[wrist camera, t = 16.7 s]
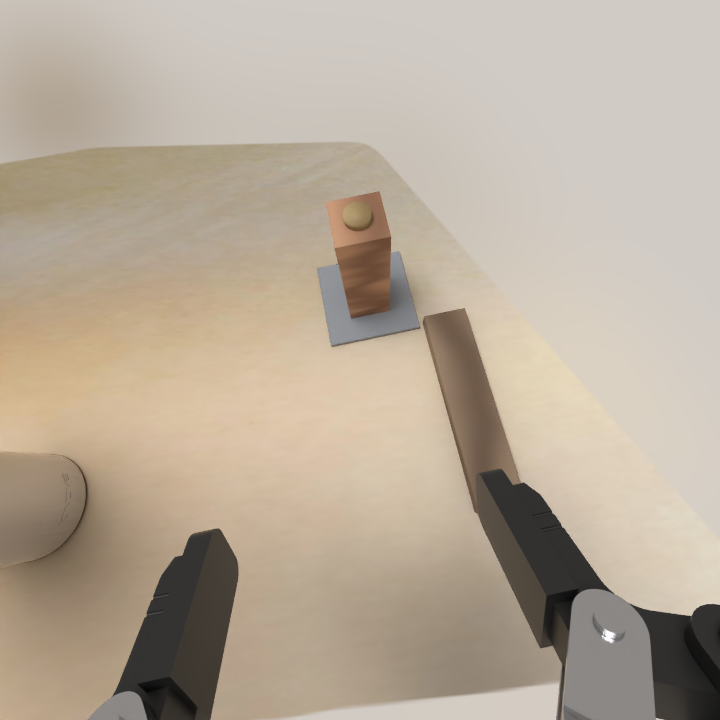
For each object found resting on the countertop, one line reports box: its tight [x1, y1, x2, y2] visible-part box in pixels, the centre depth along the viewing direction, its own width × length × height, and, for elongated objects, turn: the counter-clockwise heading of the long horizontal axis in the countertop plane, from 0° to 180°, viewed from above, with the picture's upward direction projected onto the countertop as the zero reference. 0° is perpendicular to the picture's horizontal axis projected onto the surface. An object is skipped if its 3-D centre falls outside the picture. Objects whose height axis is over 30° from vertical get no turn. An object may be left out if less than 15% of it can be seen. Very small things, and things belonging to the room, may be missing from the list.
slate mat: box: [317, 251, 419, 346], centre depth 37 cm, size 9×9×1 cm
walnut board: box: [423, 308, 520, 513], centre depth 32 cm, size 4×18×2 cm, turn 11°
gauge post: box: [326, 192, 391, 319], centre depth 31 cm, size 4×4×13 cm
